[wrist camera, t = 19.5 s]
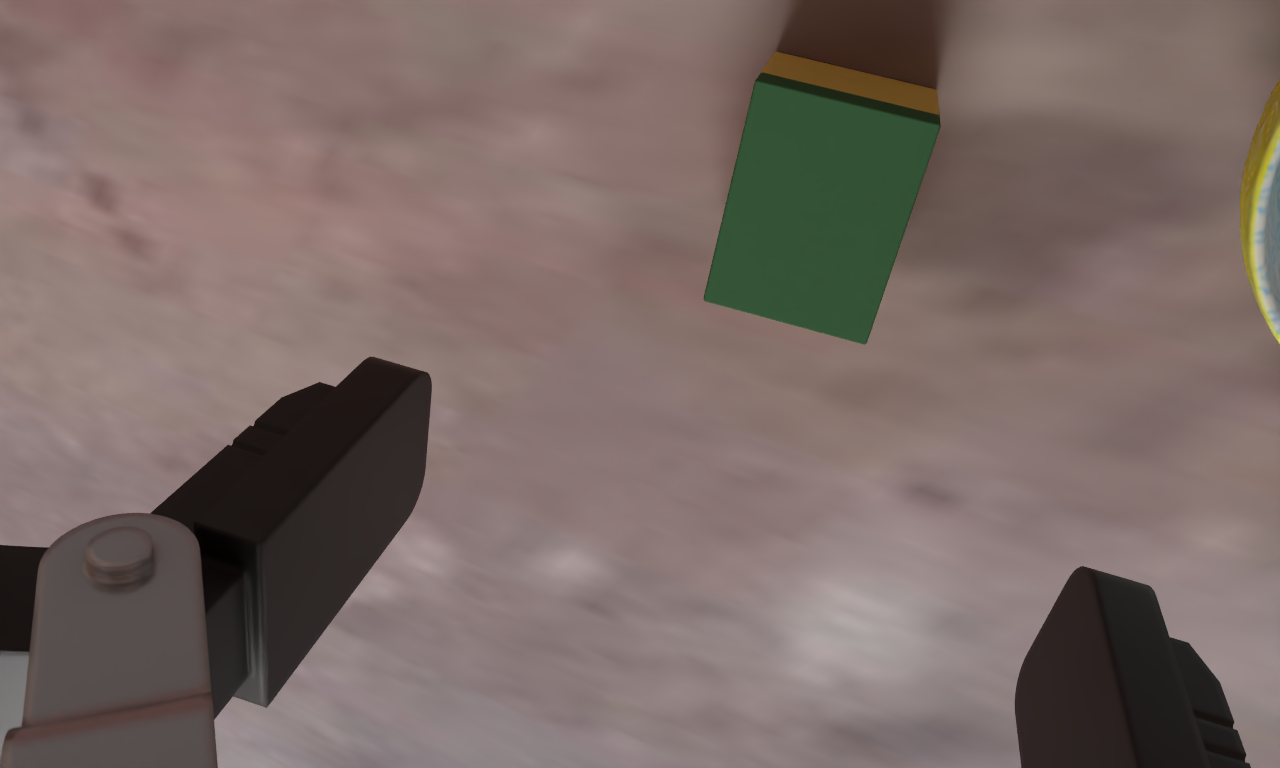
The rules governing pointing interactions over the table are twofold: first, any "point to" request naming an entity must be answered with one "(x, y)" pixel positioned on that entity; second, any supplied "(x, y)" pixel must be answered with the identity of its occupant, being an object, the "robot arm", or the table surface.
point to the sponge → (821, 195)
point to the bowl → (1263, 213)
